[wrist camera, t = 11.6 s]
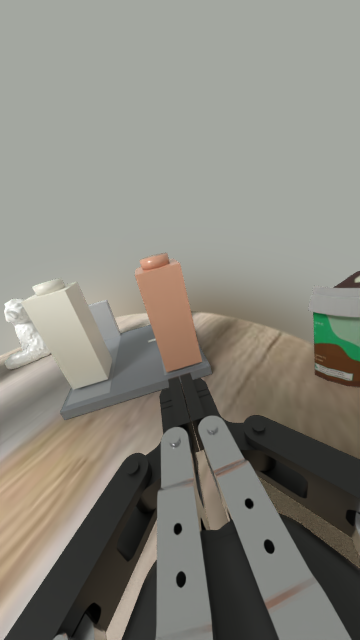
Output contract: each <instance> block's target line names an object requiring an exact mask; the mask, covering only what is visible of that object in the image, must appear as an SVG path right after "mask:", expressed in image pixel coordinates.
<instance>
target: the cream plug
mask: <svg viewBox="0 0 360 640" xmlns="http://www.w3.org/2000/svg"><path fill="white" fill-rule="evenodd" d="M32 288H33V290H34V292H35V293H36V294H35V295H33V296H31V297H29V298H28V299H26V300H24V301H22V302H21V304H22V306H23V307H24V309H25V311H26V312H27V314H28V316H29V317H30V319H31V321H32V322H33V324H34V326H35V327H36V329H37V331H38V332H39V334H40V336H41V337H42V339H43V341H44V342H45V344H46V346H47V347H48V349H49V351H50V352H51V354H52V356H53V357H54V359H55V361H56V362H57V364H58V366H59V367H60V369H61V371H62V372H63V374H64V376H65V377H66V379H67V381H68V382H69V384H70V386H71V387H72V389H73V390H74V389H77V388H81V387H84V386H87V385H90V384H94V383H97V382H100V381H104V380H107V379H108V377H109V373H110V368H111V364H112V357H111V355H110V353H109V351H108V349H107V346H106V344H105V342H104V340H103V338H102V335H101V333H100V331H99V329H98V326H97V324H96V322H95V320H94V318H93V315H92V313H91V311H90V309H89V307H88V304H87V302H86V300H85V298H84V296H83V293H82V291H81V289H80V287H79V285H78V282H74V283H70V284H66V285H65V284H64V282H63V280H62V278H58V279H54V280H50V281H47V282H44V283H40V284H38V285H35V286H33V287H32Z"/></svg>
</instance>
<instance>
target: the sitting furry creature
mask: <svg viewBox="0 0 360 640" xmlns="http://www.w3.org/2000/svg"><path fill="white" fill-rule="evenodd" d="M22 301H24V300H23V299H12V300H10V301H9V302H7V303H5V306H6V308H5V311H4V313H5V317H6V321H7V322H10V323H12V324H13V325H14V326H15V329H16V330H15V331H16V334H17V335H18V338H19V340H20V344H21V345H22V346H21V349H23V351H22V352H21V351H18V352H17V353H15V354H12V355H10V357H9V358H8V359H7V360H6V361H5V366H6V367H7V368H8V369H10V370H11V369H16V368H19V367H21V366H24V365H26V364H28V363H31V362H33V361H36V360H38V359H40V358H43V357H45V356H48V355H50V354H51V352H50V351H49V349H48V347H47V346H46V344H45V342H44V341H43V339H42V337H41V336H40V334H39V332H38V331H37V329H36V327H35V326H34V324H33V322H32V321H31V319H30V317H29V316H28V314H27V312H26V311H25V309H24V307H23V306H22V304H21V302H22Z"/></svg>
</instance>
